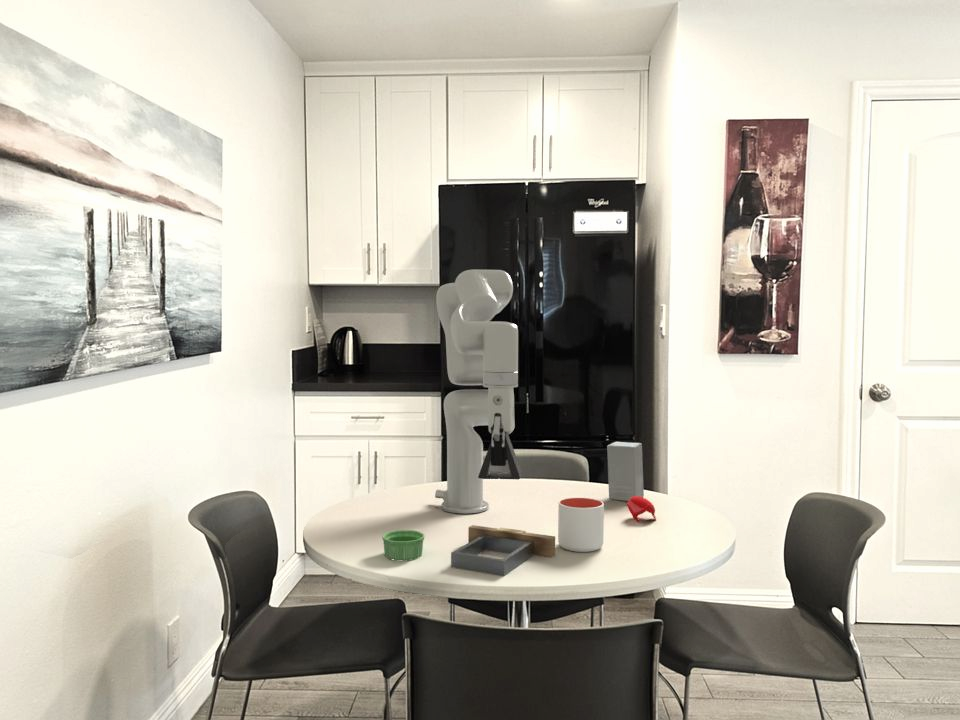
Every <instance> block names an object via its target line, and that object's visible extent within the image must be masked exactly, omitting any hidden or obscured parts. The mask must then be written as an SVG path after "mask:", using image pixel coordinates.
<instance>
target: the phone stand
mask: <svg viewBox="0 0 960 720" xmlns="http://www.w3.org/2000/svg"><path fill="white" fill-rule="evenodd" d="M509 435H510V434H508V432H505V447H506V457H507V460H506V462H507V465H508V468H509V471H490V469H491V467H492V465H491V447H492V439H491V441H490V444H489V446H488V449H487V451H486V455H485V457H484V458H483V465H482V467H481V470H480V473H479V476H478V478H479V479H483V480H485V479H486V480H499V479H500V480H517V481H518V480H520V479H521V476H522V474H523V473H522V469H521V466H520V464H519V461H518V458H517V455H516V452H515V449H514V447H513V443H512V441H511V439H510V436H509ZM501 437H502V436H501Z"/></svg>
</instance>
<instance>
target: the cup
mask: <svg viewBox="0 0 960 720" xmlns="http://www.w3.org/2000/svg"><path fill="white" fill-rule="evenodd" d="M604 503H605V502H602V501H601V500H598V499H594V498H590V497H589V498H588V497H569V498H568V497H567V498H564V499H560V500H559V501H558V513H557V514H558V519H557V523H558V524H557V525H558V527H557V528H558V530H557V533H558V534H557V537H558V538H557V539H558V540H557V541H558V544H559V546H560V547H561V548H562V549H564V550H567V551H570V552H576V553H589V552H596V551H597V550H600V549H601V548H602V547H603V545H604V533H605V532H604V530H605V528H604V527H605V524H604V523H605V522H604V520H605V517H604V516H605V504H604Z"/></svg>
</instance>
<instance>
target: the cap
mask: <svg viewBox="0 0 960 720" xmlns="http://www.w3.org/2000/svg"><path fill="white" fill-rule="evenodd" d="M626 506H627V509H628V511H629V512H630V515H631V516H632V518H633V519H634V521H635V522H636V523H639V522H640V519H639V518H638V516H640V515H642V514H644V513H646V512H648V513H649V514H651V516H652V517H653V518H654V521H657V518H656V515H655V513H656V508H655V506H654V505H653V503H652V502H651V501H650V500H648V499H647V498H645V497H644V496H643V497H639V496H634V497H631V498H630V499H629V500H628V501H627V503H626Z"/></svg>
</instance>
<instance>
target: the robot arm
mask: <svg viewBox="0 0 960 720" xmlns="http://www.w3.org/2000/svg"><path fill="white" fill-rule="evenodd" d="M513 284H514V283H513V281H512V278H511V275H509V273H508V272H506V271H505V270H502V269H467V270H464V271H461V273H459V274H458V276H457V277H456V278H455V281H454V282H450V283H445V284H443V285H441V286H439V287H438V290H437V292H436V301H435V302H436V309H437V310H436V311H437V314H438V319H439V320H440V323H441V326H442V328H443V332H444V335H445V336H444V337H445V348H446V350H445V351H446V354H445V355H446V369H447V375H448V380H449V382H450V383H451V384H454V385H458V386H482V387H483V388H488V389H459V390H458V389H457V390H453V391H451V392H449V393H448V394H447V395H446V396H445V397H444V400H443V411H444V412H443V413H444V418H445V426H446V427H445V429H446V449H447V450H446V457H447V458H446V478H447V479H446V481H447V482H446V487H447V488H446V489H445V490H444V489H436V490H435V493H434V494H435V495H434V497H435V498H436V499H442V500H443V502H441V506H440V507H441V509H442V510H443V511H445V512H447V513H453V514H476V513H477V514H478V513H483V512H486V511H487V510H488V509H489V507H490V506H489V502H487V501H485V500H484V479H479V478H478V476H479V473H480V470H481V467H482V465H483V462H484V443H483V440H482V438H481V436H480V434H478V433H477V432H476V431H475V429H474V427H478V426H487V427H488V432H489V433H490V434H491V440H492V447H491V467H492V466H495V467H505V466H506V465H507V457H506V447H505V432H508V435H510V434H511V433H513V431H514V429H515V427H516V425H515V423H516V422H515V393H514V388H518V387H519V329H518V325H517V324H515V323H512V322H508V321H500V320H499V321H498V320H497V321H496V320H495V321H492V320H493V318H494V317H495V316H496V315H497V314H499V313H501V312H502V311H503V309H504V308H505V307H506V306H507V305H508V304H509V303H510V301H511V300H512V297H513V294H514V293H513V292H514V285H513ZM501 436H502V437H501Z"/></svg>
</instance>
